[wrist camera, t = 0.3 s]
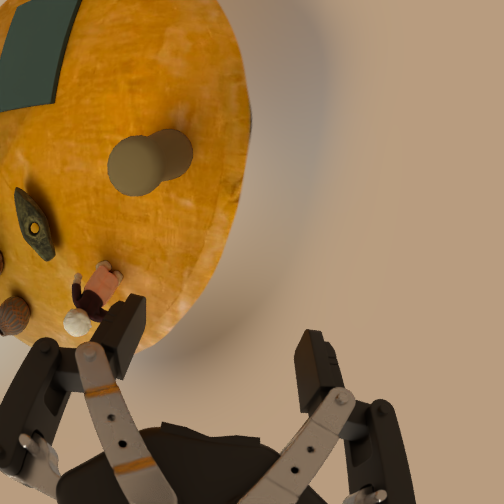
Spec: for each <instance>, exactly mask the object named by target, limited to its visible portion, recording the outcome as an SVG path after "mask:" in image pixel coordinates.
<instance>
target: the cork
mask: <svg viewBox="0 0 504 504" xmlns="http://www.w3.org/2000/svg"><path fill="white" fill-rule="evenodd" d="M192 158H193V149H192V146H191V143H190V141H189V140H188V138H187V137H186V136H185V135H184V134H183V133H181V132H180V131H177V130H173V129H163V130H161V131H158V132H156V133H154V134H152V135H150V136H148V137H146V136H142V135H139V136H130V137H128V138H126V139H124V140H122V141H121V142H119V143H118V144H117V145H116V146H115V147H114V148H113V150H112V152H111V154H110V155H109V159H108V164H107V167H108V175H109V178H110V181H111V183H112V184H113V186H114V187H115V188H116V189H117V190H118V191H120V192H121V193H122V194H125V195H128V196H143V195H145V194H148V193H150V192H151V191H153V190H154V189H155V188H156V187H157V186H159V184H160V183H161V182H162V181H167V180H171V179H174V178H177V177H180V176H181V175H182V174H184V173H185V172H186V171H187V169H188V168H189V166H190V164H191V161H192Z"/></svg>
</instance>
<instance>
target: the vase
mask: <svg viewBox="0 0 504 504" xmlns="http://www.w3.org/2000/svg"><path fill="white" fill-rule="evenodd" d="M29 318H30V312H29V308H28V305H27V304H26V302H25V301H24V300H23V299H21V298H19V297H10V298H8V299H6V300H5V301H4V302H3V303H2V304H1V306H0V335H1V336H7V335H17V334H19V333H21V332H22V331H23V330H24V329H25V328H26V326H27V324H28V322H29Z"/></svg>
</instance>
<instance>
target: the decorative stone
mask: <svg viewBox="0 0 504 504" xmlns="http://www.w3.org/2000/svg"><path fill="white" fill-rule="evenodd" d="M14 199H15V206H16V212H17V216H18V221H19V225H20V229H21V232H22V235H23V237H24V239H25V240H26V242H27V243H28V244H29V245H30V246H31V247H32V248H33V249H34V250H35V251H36V252H37V253H38V255H39V256H40V257H41V258H42V259H44V260H45V261H50V260H51V259H53V258H54V256H55V249H54V245H53V242H52V238H51V233H50V228H49V223H48V220H47V218H46V216H45V214H44V213H43V211H42V210H41V209H40V207H39V206H38V205H37V204H36V202H35V201H34V200H33V199H32V198H31V197H30V196H29V195H28V194H27V193H26V192H25V191H23V190H22V189H20V188H18V187H16V188H15V193H14ZM33 223H37V224H38V225H39V231H38V232H37V233H33V232H32V231H31V225H32V224H33Z"/></svg>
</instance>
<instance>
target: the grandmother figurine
mask: <svg viewBox="0 0 504 504" xmlns="http://www.w3.org/2000/svg"><path fill="white" fill-rule="evenodd" d="M110 270H111V265H110V263H109V262H108V261H103V262H100V263H98V264H97V265H96V271H95V272H94V274H93V275H92V276H91V278H90V279H89V281H88V282H87V284H86V286H85V288H84V292H83V293H82V294H81V286H80V284H81V279H82V275H81V274H80V273H77V274H75V279H74V281H73V284H72V298H73V303H74V305H75V306H76V309H71V310H70V311H69V312H68V313H67V314H66V316H65V318H64V321H63V322H64V323H63V324H64V328H65V330H66V331H67V332H68V333H69V334H70V335H72V336H74V337H80V336H82V335H85V334H86V333H87V332H88V331H89V329H90V327H92V326H91V321H90V319H91V320H92V321H95V322H100V323H101V322H102V320H103V319H104V317H105V315H106V314H107V312H108V311H106V310H104V309H102V308H101V307H103V306H104V305H105V304H106V303H107V302H108V300H109V299H110V298H111V296H112V295H113V293H114V291H115V290H116V288H117V286H118V285H119V284H120V283H121V280H122V278H123V276H122V274H121V273H120V272H119V271H114V272H113V273H112V274H111V273H110V272H109V271H110Z"/></svg>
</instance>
